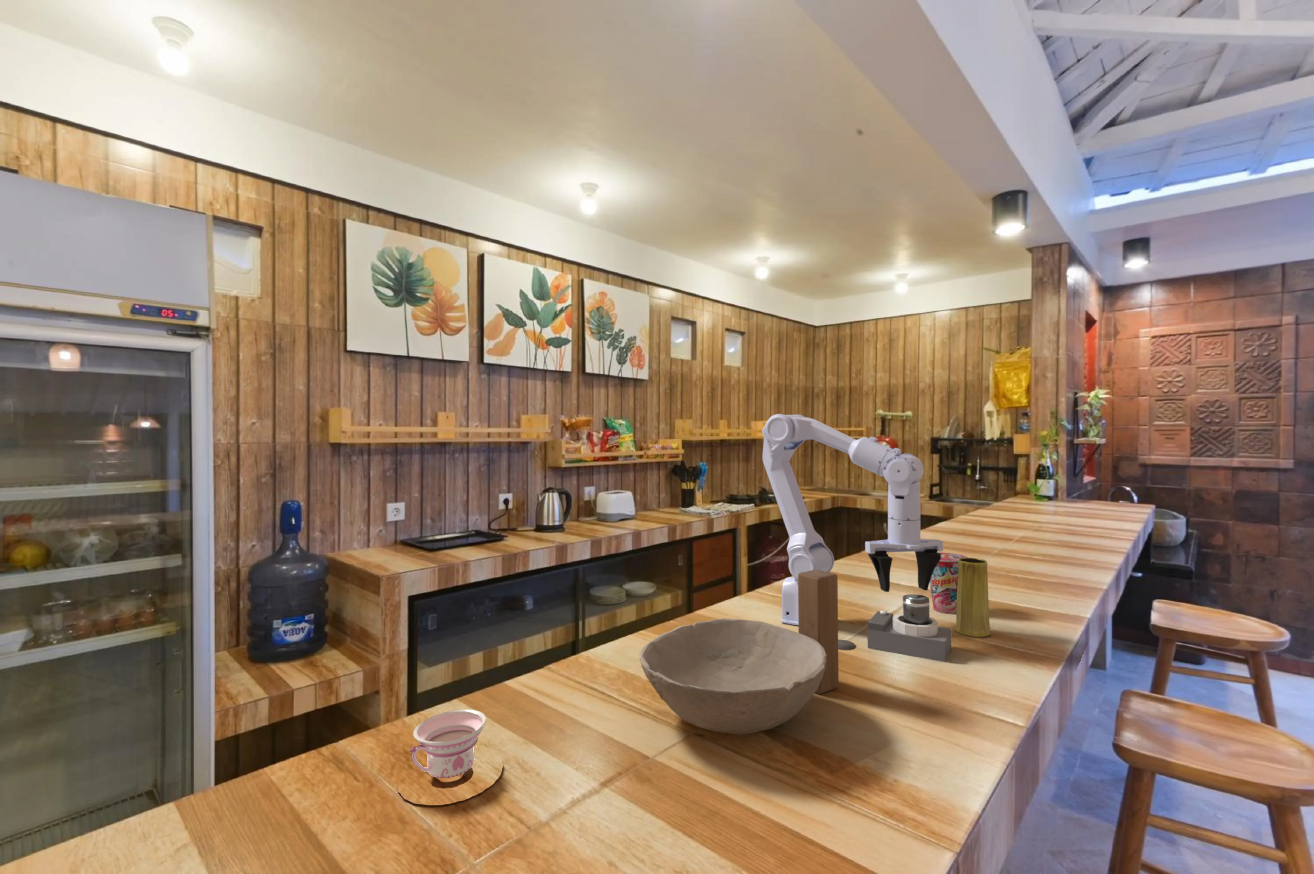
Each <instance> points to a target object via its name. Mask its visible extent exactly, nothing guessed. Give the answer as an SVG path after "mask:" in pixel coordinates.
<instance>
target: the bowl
mask: <svg viewBox="0 0 1314 874" xmlns="http://www.w3.org/2000/svg"><path fill="white" fill-rule="evenodd" d="M638 656H639V661H640V665H641V668H642V670H643V673H644V674H645V677H646V679H647V680H648V682H649V683H650V685H651V686H652V687H653V689H654V690H655V692H656V693H657V694H658V696H659V698H660V699H661V700H662V701H664V703H665V705H667V706H668V707H669V708H670V710H671V711H673V712H674V713H675V714H676V715H677V716H678V717H679V718H681V719H683V721H685V722H687V723H690V724H692V725H694V726H696V727H698V728H701V729H704V730H705V729H706V730H709V731H713V732H716V733H724V734H730V735H731V734H733V735H734V734H735V735H742V736H745V735H747V734H749V733H756V732H763V731H768V730H771V729H773V728H775V727H778V726H780V725H782V724H784V723H786V722H787V721H789V720H790V719H792V718H793V717H794V716H795V715H797V714H798V713H799V712H800V711H801V710H802V709H803V708H804V706H805V705H806V704H807V703H808V702H809V701H810V699H811V698H812V697H813V696H814V695H815V693H816V690H817V688H818V686H819V684H820V681H821V679H822V677H823V674H824V671H825V667H826V658H827V655H826V653H825V650H824V648H823V647H822V646H821V645H820V643H818V642H817V641H816V640H814V639H812V638H810V637H807V636H805V635H802V634H800V633H799V632H797V631H793V630H791V629H788V628H785V627H782V626H779V625H775V624H772V623H768V622H764V621H759V620H755V619H754V620H753V619H739V618H715V619H711V620H708V621H707V620H700V621H698V622H697V621H696V622H694V623H693V624H687V625H686V624H685V625H684V624H683V625H680V626H678V627H676V628H673V629H672V630H670V631H666V632H664V633H661V634H660V635H658V636H656V637H654V638H653V639H652V640H650V641H649V642H647V643H646V644H645V645H644V646H643V647H642V648H641V650H640V652H639V655H638Z"/></svg>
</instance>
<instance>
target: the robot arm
mask: <svg viewBox="0 0 1314 874" xmlns="http://www.w3.org/2000/svg"><path fill="white" fill-rule="evenodd" d="M761 433H762V436H763V445H762V447H763V448H762V462H763V466H764V468H765V471H766V473H767V477H768V480H769V483H770V486H771V488H772V491H773V495H774V497H775V501H776V503H777V506H778V509H779V511H780V514H781V517H782V520H783V524H784V525H785V529H786V531H787V534H788V538H789V540H788V544H787V547H786V552H787V554H788V570H789V572H790V574H791V576H792V577H790V576H788V577H786V578H785V579H784V580H783V582H782V589H781V619H780V623H783V624H789V625H794V626H798V574H799V573H801V572H806V571H811V570H816V569H817V570H821V571H825V572H829V573H830V571H832V570H833V568H834V565H835V557H834V554H833V552H832V551H831V549H830V548H829V547H828V546H827V545H826V543H825V541H824V539H823V537H822V536H821V535H820V534H819V533H818V532H817V531H816V530H815V528H814V525H813V523H812V520H811V517H810V515H809V512H808V509H807V505H806V503H805V500H804V498H803V495H802V491H801V490H800V486H799V484H798V482H797V479H796V476H795V473H794V470H793V467H792V464H791V459H792V457H793V455H794V454H795V452H796V450H797V449H798V448H799V447H800V446H801V445H802V444H803V443H804V442H805V441H806V440H808V441H809V440H812V441H813V440H814V441H816V442H818V443H821V444H824V445H825V446H828V447H830V448H833V449H835V450H837V451H840V452H842V453H845V454H847V455H848V456H849V458H850V461H851V462H852V464H854V465H856V466H858V467H861V468H862V469H865V470H867V471H869V472H872V473H873V474H875V475H877V476H880V477H882V478H883V477H884V480H885V481H886V482H887V483H888V486H887V489H888V490H887V492H888V493H887V539H881V540H871V541H864V542H865V543H864V547H865V548H864V551H865V553H867V554H868V557H869V559H870V561H871V563H872V566H873V567H874V570H875V572H876V575H877V578H878V583H879V587H880V590H881V591H883V592H884V593H889V592H890V588H891V581H890V580H891V577H890V576H891V567H892V562H893V557H891V556H889V553H901V552H902V553H904V552H908V553H909V552H910V553H911V552H914V554H915V558H916V565H917V585H918V589H921V590H923V591H928V590H929V587H930V579H931V576H932V573H933V571H934V569H935V567H936V565H937V564H938V562H939V561H940V559H941V554H940V553H937V552H943V551H944V541H942V540H940V539H934V538H933V539H925V538H921V482H920V481H921V479H922V478H923V476H924V474H925V467H924V464H923V462H922V460H920V459H919V457H917V456H915V455H914V454H912V453H902V454H901V452H902V449H900V448H898V447H894V448H892V447H890V446H887V445H885V444H883V443H880V442H878V441H879V438H877V437H874V436H870V437H866V436H863V437H860V438H857V439H856V438H854V437H851V436H849V435H847V434H845V433H843V432H841V431H839V430H837V429H835V428H834V427H831V426H829V425H827V424H826V423H823V422H821V421H819V420H816V419H815V418H811V417H805V416H804V415H802V414H800V413H799V414H783V413H776V414H773V415H771V416H770V417H769V418H768V419H767V421H766V423H765V424H764V426H763V428H762V430H761Z"/></svg>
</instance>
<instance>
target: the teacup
mask: <svg viewBox="0 0 1314 874" xmlns="http://www.w3.org/2000/svg"><path fill="white" fill-rule="evenodd" d="M486 722H487V718H486V715H485V714H484V713H483V712H482V711H479V710H476V709H470V708H469V709H468V708H467V709H454V710H453V709H452V710H449V711H448V710H447V711H445V712H444V711H443V712H441V713H438V714H435V715H433V716H430V717H428V718H427V719H425V720H422V722H420V723H419V724H417V726H416V727H415V728H414V729H413V732H412V737H414V739H415V740H416V741H417V742H418V743H419V745H413V746H412V748H410V749H409V752H410V757H411V760H412V761H411V762H412V763H414V764H415V765H416V766H417V767H418V768H419V769H421V770H422V771H424V772H428V773H429V774H430V775H431V776H432V777H434V778H436V779H437V778H450V777H455V776H458V775H461V774H463V773H465V772H466V773H467V772H468V771H469V770H470V769H471V767H472V766H473V764H474V760H475V758H474V746H476V744H477V742H478V741H479V740H478V738H479V737H478V736H479V735H480V734H481V733H482V731H483V730H484V728H485V727H484V726H485V724H486ZM420 751H424V752H425V753H426V755H427V767H423V766H422V765H421V764H420V763H419V762H418V757H417V754H418V752H420ZM466 773H465V774H466Z"/></svg>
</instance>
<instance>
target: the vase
mask: <svg viewBox="0 0 1314 874" xmlns="http://www.w3.org/2000/svg"><path fill="white" fill-rule="evenodd" d="M988 577H989V576H988V561H987V560H986V559H984V558H979V557H978V558H977V557H969V558H959V559H958V586H957V612H956V613H955V614H956V616H955V617H956V619H955V621H956V622H955V623H956V624H955V631H956V632H957V633H958V634H961V635H964V636H965V637H974V638H986V637H989V636H990V635H991V628H990V627H991V626H990V608H989V605H990V604H989V601H990V600H989V578H988Z"/></svg>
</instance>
